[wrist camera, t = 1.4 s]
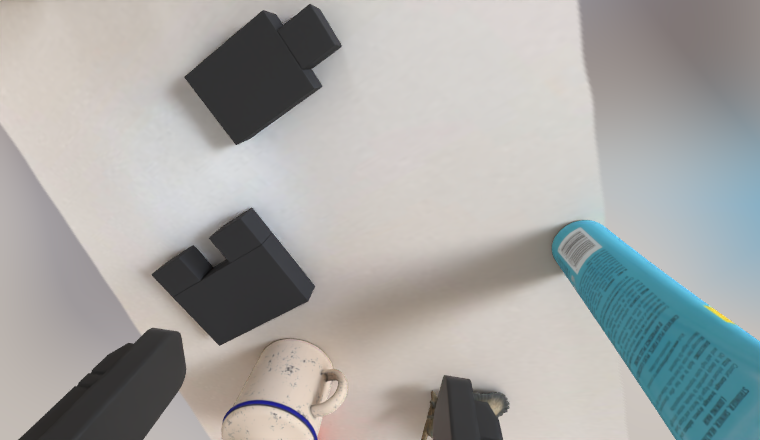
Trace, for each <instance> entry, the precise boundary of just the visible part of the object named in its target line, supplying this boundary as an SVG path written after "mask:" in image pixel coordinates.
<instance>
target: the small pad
mask: <svg viewBox="0 0 760 440" xmlns="http://www.w3.org/2000/svg"><path fill="white" fill-rule="evenodd" d="M341 46H342V45H341V43H340V42H339V40H338V38H337V37H336V35H335V33H334V32H333V30H332V28H331V27H330V25H329V24H328V22H327V20H326V19H325V17H324V15H323V14H322V12H321V10H320V9H319V8H317V7H315V6H313V5H311V4H309V5H308V6H307V7H305V8H304V9H303V10H302V11H301V12H299V13H298V14H297V15H296V16H294V17H293V18H292V19H291V20H289V21H288V22H287V23H286V24H285V25H283V24H282V23H281V21H280V20H279V18H278V17H277V15H276V14H273V13H270V12H267V11H264V10H263V11H261V12H260V13H259V14H258V15H257V16H256V17H254V18H253V19H252V20H251V21H250V22H248V23H247V24H246V25H245V26H244V27H243V28H241V29H240V30H239V31H238V32H237V33H236V34H234V35H233V36H232V37H231V38H230V39H228V40H227V41H226V42H225V43H224V44H223V45H221V46H220V47H219V48H218V49H217V50H216V51H214V52H213V53H212V54H211V55H210V56H208V57H207V58H206V59H205V60H204V61H203V62H201V63H200V64H199V65H198V66H197V67H196V68H194V69H193V70H192V71H191V72H190V73H188V74H187V75H186V76H185V79H186V80H187V81H188V83H189V84H190V85H191V87H192V88H193V89H194V91H195V92H196V93H197V94H198V96H199V97H200V98H201V100H202V101H203V102H204V104H205V105H206V106H207V108H208V109H209V110H210V111H211V113H212V114H213V115H214V117H215V118H216V119H217V121H218V122H219V123H220V125H221V126H222V127H223V129H224V130H225V131H226V132H227V134H228V135H229V136H230V138H231V139H232V140H233V142H234V143H235V144H236V145H237V144H239V143H242V142H244V141H246V140H248V139H250V138H252V137H253V136H254V135H256V134H257V133H259V132H260V131H261V130H263V129H264V128H265V127H267V126H268V125H270V124H271V123H272V122H274V121H275V120H277V119H278V118H279V117H281V116H282V115H284V114H285V113H286V112H288V111H289V110H291V109H292V108H293V107H295V106H296V105H297V104H299V103H300V102H302V101H303V100H304V99H306V98H307V97H309V96H310V95H311V94H313V93H314V92H316V91H317V90H318V89H320V88H321V87H322V85H321V83H320V82H319V80H318V78H317V77H316V75H315V74H314V72H313V71H312V68H314V67H315V66H316V65H318V64H319V63H320V62H322V61H323V60H324V59H326V58H327V57H328V56H330V55H331V54H332V53H334V52H335V51H336V50H338V49H339V48H340V47H341Z"/></svg>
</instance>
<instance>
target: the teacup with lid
mask: <svg viewBox="0 0 760 440" xmlns="http://www.w3.org/2000/svg"><path fill="white" fill-rule="evenodd" d="M333 380H337V381H338V388H337V390H336V392H335V394H334V395H333V396H332V397H331V398H330V399H328V396H329V392H330V388H331V385H332V381H333ZM347 392H348V383H347V380H346V378H345V376H344V375H343V373H342V372H341V371H339V370H336V369H333V366H332V364H331V361H330V360H329V358H328V357H327V355H326V354H325V353H324V352H323V351H322V350H320V349H319V348H318V347H316V346H315V345H313V344H311V343H308V342H306V341H302V340H297V339H284V340H279V341H276V342H274V343H272V344H270V345H269V346H267V347H266V348H265V349H264V351H263V352H262V354H261V356H260V358H259V359H258V361H257V363H256V365H255V367H254V369H253V371H252V372H251V374H250V376H249V378H248V380H247V382H246V383H245V385H244V387H243V389H242V391H241V393H240V395H239V396H238V398H237V400H236V402H235V404H234V406H233V407H232V408H231V409H230V410H229V411H228V412H227V413H226V415H225V417H224V419H223V423H222V439H223V440H317V436H318V432H319V429H320V425H321V421H322V418H323V416H325V415H328V414H330V413H332V412H334V411H335V410H336V409H338V408H339V407H340V406H341V405H342V403H343V402H344V400H345V398H346V396H347ZM327 399H328V400H327Z"/></svg>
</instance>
